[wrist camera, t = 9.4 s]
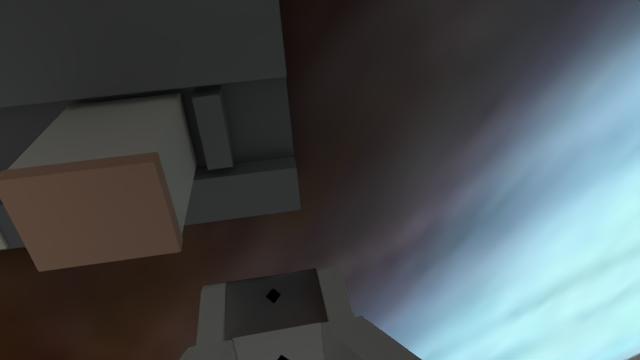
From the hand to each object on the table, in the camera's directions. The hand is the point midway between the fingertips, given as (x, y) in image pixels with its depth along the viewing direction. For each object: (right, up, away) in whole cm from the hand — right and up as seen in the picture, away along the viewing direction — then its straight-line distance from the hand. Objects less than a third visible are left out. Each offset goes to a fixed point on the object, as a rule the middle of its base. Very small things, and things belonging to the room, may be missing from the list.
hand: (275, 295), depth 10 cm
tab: (-6, +4, +7) cm, 10 cm away
